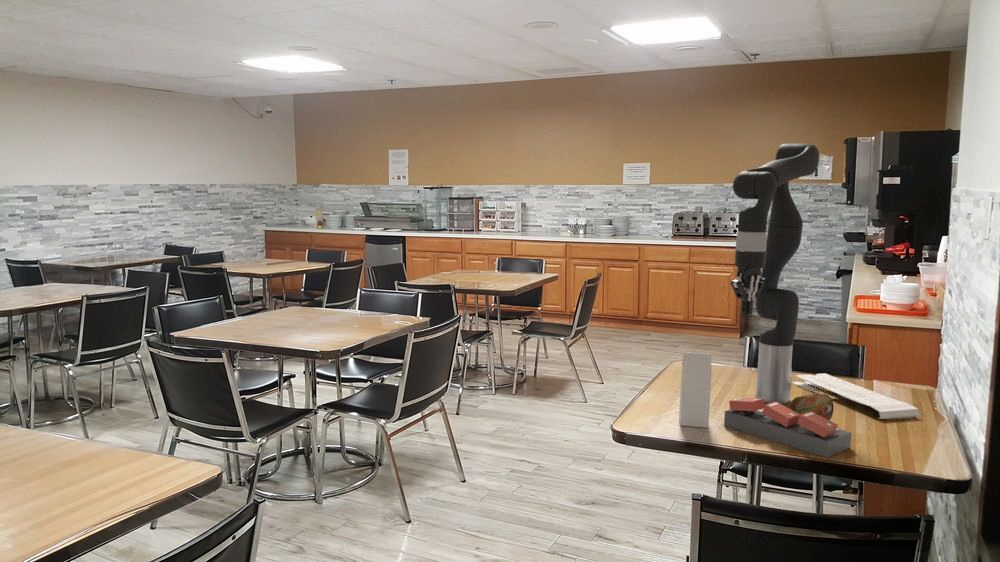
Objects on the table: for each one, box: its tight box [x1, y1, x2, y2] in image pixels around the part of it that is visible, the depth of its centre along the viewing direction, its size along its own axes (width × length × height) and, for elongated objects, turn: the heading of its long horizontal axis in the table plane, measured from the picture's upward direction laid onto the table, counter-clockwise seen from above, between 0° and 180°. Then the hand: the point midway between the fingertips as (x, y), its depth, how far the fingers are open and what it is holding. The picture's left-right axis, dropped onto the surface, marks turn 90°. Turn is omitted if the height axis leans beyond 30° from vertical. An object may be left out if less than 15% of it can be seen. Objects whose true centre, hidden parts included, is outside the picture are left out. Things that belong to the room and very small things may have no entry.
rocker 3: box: [797, 411, 839, 437], centre depth 173 cm, size 5×7×2 cm
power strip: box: [723, 408, 852, 459], centre depth 183 cm, size 11×28×5 cm, turn 38°
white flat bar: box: [791, 372, 920, 420], centre depth 217 cm, size 12×4×40 cm
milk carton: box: [678, 351, 712, 429], centre depth 191 cm, size 7×7×19 cm
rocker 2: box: [762, 402, 800, 427], centre depth 181 cm, size 5×7×2 cm
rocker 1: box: [728, 397, 766, 411], centre depth 188 cm, size 5×7×2 cm
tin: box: [787, 393, 835, 421], centre depth 192 cm, size 15×3×8 cm, turn 117°
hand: (746, 314), depth 191 cm, fingers closed
